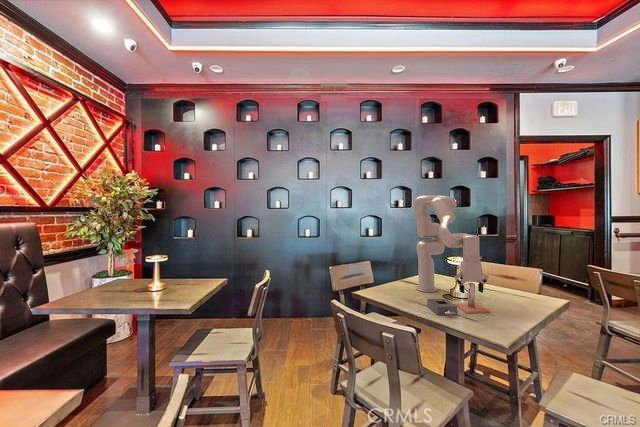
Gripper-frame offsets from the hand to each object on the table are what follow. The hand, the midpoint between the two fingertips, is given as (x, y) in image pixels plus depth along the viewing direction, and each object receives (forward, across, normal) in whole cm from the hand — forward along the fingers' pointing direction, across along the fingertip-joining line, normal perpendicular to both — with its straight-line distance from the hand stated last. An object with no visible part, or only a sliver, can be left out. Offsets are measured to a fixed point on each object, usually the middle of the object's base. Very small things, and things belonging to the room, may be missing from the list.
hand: (471, 292), depth 147 cm
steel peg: (+7, 0, 0) cm, 8 cm away
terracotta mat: (+9, 0, 0) cm, 9 cm away
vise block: (+9, +16, +3) cm, 18 cm away
